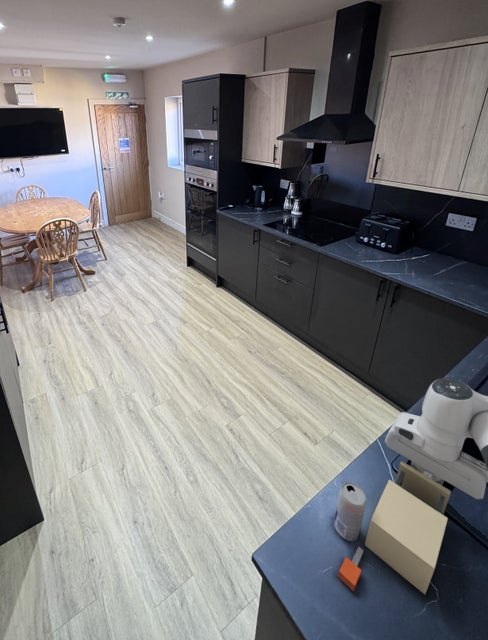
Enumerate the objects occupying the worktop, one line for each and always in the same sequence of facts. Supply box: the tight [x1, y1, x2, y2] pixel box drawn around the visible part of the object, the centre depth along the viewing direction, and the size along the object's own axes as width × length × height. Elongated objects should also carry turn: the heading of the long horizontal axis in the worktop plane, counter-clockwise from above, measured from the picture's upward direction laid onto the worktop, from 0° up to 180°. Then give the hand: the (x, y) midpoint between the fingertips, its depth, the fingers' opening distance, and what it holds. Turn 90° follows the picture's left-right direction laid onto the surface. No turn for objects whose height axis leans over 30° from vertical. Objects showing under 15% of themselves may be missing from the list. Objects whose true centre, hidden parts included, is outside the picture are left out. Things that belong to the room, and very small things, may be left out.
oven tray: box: [395, 460, 452, 515], centre depth 79 cm, size 16×10×7 cm, turn 133°
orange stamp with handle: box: [337, 546, 365, 592], centre depth 70 cm, size 8×3×2 cm, turn 133°
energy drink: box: [333, 481, 367, 542], centre depth 75 cm, size 5×5×12 cm
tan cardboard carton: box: [364, 479, 449, 595], centre depth 72 cm, size 13×12×9 cm
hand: (426, 480), depth 83 cm, fingers closed
